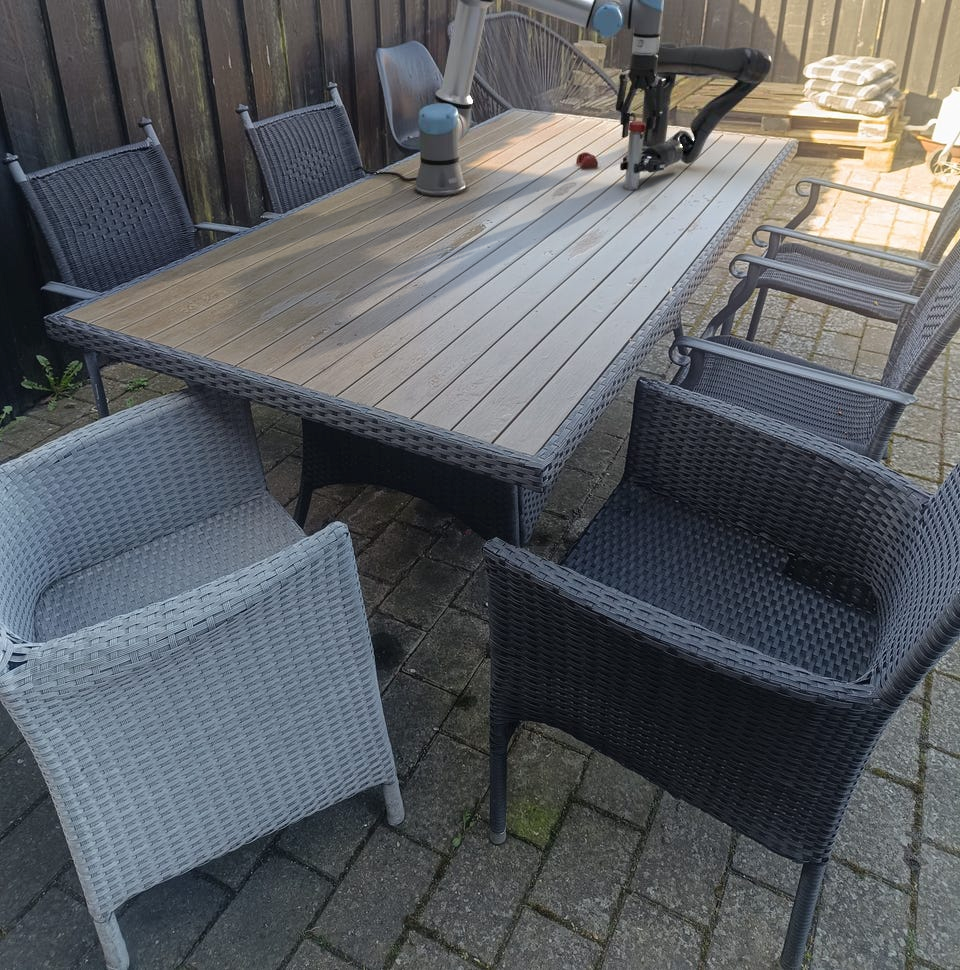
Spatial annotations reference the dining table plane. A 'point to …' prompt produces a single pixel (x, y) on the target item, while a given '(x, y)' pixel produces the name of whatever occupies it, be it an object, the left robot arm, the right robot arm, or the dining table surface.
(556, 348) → the dining table surface
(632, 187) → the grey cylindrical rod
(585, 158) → the dental model
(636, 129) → the lid
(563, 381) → the dining table surface
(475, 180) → the dining table surface
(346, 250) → the dining table surface
